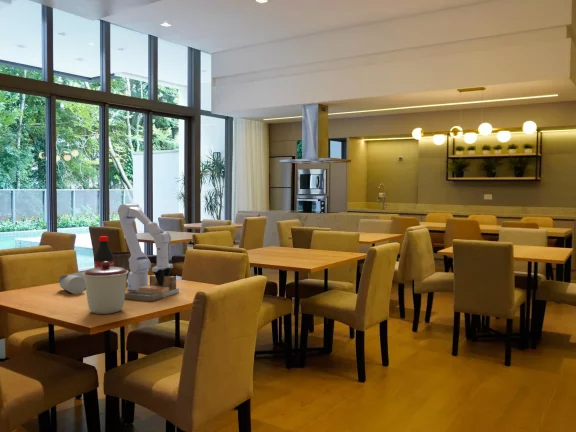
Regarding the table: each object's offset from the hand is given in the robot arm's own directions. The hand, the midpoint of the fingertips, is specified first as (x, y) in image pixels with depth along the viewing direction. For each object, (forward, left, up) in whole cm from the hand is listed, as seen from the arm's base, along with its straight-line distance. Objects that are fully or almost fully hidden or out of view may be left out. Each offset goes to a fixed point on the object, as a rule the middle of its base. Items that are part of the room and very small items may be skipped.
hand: (162, 284), depth 258 cm
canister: (+2, -42, -4) cm, 43 cm away
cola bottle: (-10, -30, -4) cm, 32 cm away
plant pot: (-38, +14, -4) cm, 40 cm away
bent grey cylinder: (-44, -10, -4) cm, 45 cm away
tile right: (+4, -8, -2) cm, 8 cm away
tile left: (-4, -8, -2) cm, 8 cm away
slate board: (0, -4, -4) cm, 6 cm away
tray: (0, -16, -4) cm, 16 cm away
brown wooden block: (0, 0, -2) cm, 2 cm away
